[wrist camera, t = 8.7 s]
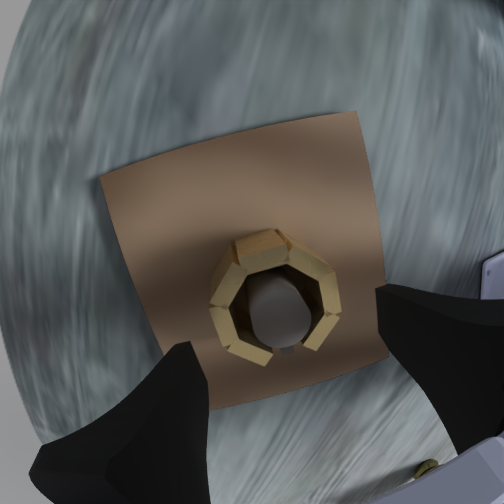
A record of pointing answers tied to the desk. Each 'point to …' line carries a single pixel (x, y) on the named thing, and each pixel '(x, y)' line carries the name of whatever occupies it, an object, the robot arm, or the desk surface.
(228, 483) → the desk surface
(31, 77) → the desk surface
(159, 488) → the robot arm
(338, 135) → the post stand
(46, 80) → the desk surface
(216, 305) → the brass collar
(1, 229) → the desk surface
